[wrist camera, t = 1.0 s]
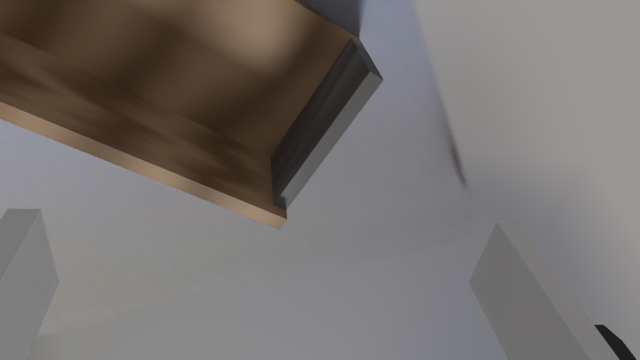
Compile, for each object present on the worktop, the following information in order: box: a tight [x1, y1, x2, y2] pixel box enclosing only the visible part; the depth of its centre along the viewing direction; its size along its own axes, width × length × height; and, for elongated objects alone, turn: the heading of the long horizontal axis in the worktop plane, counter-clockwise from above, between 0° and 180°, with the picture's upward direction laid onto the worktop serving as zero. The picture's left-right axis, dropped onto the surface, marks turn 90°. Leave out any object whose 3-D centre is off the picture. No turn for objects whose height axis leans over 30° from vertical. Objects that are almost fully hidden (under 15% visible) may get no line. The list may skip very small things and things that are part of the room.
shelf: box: [0, 0, 383, 230], centre depth 27 cm, size 24×12×8 cm, turn 56°
